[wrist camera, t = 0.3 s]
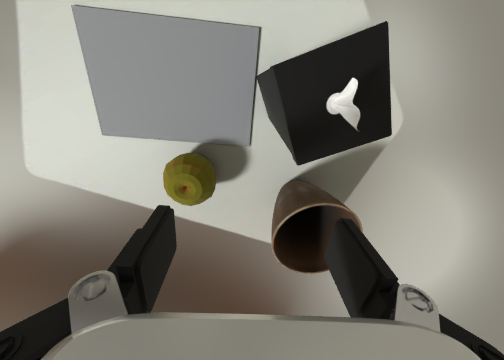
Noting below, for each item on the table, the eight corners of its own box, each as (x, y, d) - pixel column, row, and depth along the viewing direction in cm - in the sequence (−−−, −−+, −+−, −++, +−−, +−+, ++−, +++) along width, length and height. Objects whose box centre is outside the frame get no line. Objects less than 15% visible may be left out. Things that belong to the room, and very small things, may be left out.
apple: (224, 183, 45) (219, 211, 35) (184, 193, 46) (168, 223, 36) (210, 141, 41) (199, 159, 31) (165, 152, 42) (141, 174, 32)
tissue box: (298, 59, 35) (431, 1, 10) (307, 104, 38) (425, 147, 13) (255, 76, 36) (277, 62, 11) (268, 118, 39) (308, 183, 14)
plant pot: (278, 155, 43) (296, 191, 28) (338, 176, 45) (382, 219, 31) (254, 209, 49) (258, 263, 34) (308, 225, 51) (333, 281, 37)
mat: (73, 6, 31) (71, 5, 30) (259, 28, 33) (259, 27, 32) (103, 134, 39) (102, 135, 39) (249, 145, 41) (249, 146, 41)
